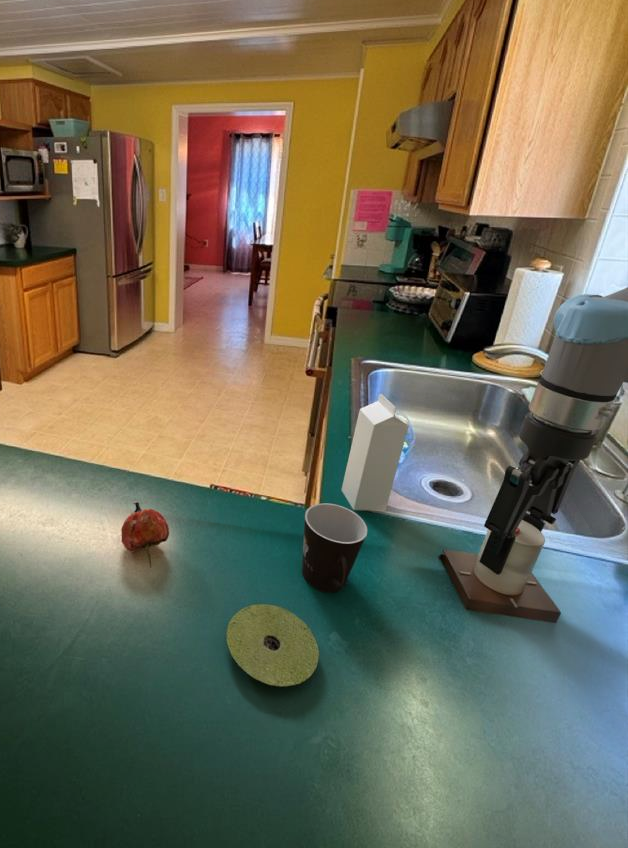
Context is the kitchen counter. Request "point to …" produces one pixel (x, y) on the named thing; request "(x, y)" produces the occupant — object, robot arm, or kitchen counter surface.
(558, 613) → the brown dial base
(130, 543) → the pomegranate
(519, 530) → the cream knob
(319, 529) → the coffee mug
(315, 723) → the kitchen counter surface
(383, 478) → the milk
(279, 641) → the green disc with hole
